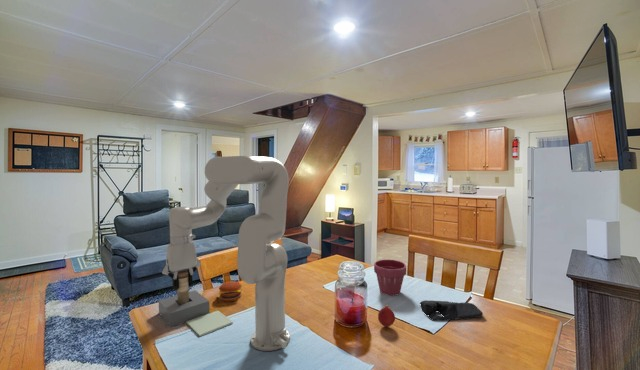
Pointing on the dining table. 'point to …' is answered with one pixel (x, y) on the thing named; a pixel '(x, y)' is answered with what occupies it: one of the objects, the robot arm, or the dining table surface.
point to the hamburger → (230, 291)
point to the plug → (183, 287)
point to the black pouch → (450, 310)
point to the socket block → (183, 308)
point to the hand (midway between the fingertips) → (182, 286)
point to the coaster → (209, 323)
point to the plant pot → (390, 275)
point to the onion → (386, 316)
